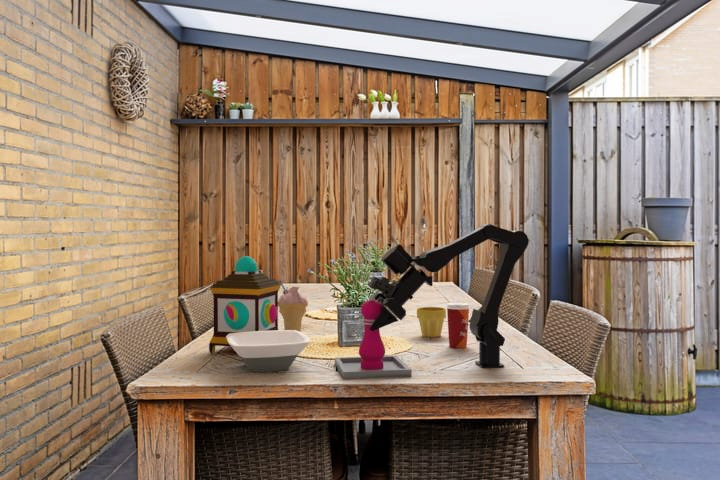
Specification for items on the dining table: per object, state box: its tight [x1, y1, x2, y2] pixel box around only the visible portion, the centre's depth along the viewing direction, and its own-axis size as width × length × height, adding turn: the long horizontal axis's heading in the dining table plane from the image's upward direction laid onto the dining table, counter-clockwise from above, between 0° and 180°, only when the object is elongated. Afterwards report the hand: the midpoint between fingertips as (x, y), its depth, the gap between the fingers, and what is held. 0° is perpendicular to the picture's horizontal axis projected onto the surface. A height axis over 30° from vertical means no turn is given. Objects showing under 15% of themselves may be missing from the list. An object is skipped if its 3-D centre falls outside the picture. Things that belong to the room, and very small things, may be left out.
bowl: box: [226, 329, 311, 373], centre depth 177 cm, size 22×23×8 cm
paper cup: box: [445, 302, 471, 349], centre depth 207 cm, size 8×8×14 cm
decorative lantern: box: [208, 255, 282, 355], centre depth 200 cm, size 20×20×30 cm
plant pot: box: [416, 306, 447, 338], centre depth 227 cm, size 10×10×10 cm
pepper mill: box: [358, 294, 386, 370], centre depth 173 cm, size 7×7×20 cm
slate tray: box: [334, 355, 413, 380], centre depth 174 cm, size 18×18×2 cm
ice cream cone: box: [278, 280, 309, 332], centre depth 226 cm, size 11×11×20 cm
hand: (367, 327), depth 173 cm, fingers open, 9 cm apart
